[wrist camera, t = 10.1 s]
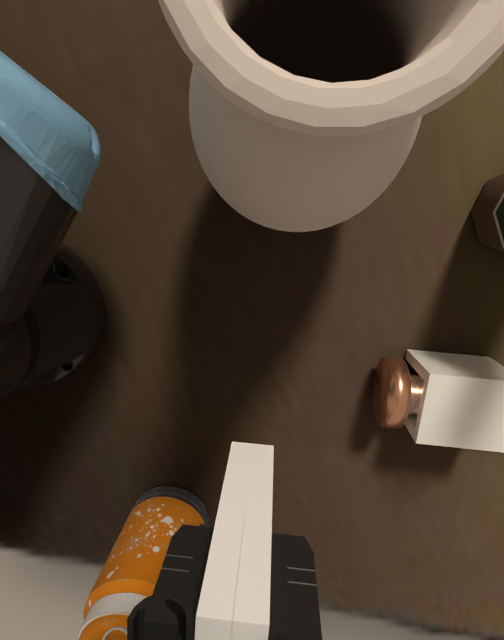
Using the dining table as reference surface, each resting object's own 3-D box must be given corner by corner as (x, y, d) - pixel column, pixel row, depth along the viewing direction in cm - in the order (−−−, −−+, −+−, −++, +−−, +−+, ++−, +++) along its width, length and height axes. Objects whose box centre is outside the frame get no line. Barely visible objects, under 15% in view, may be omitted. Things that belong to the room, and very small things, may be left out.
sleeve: (395, 409, 42) (415, 443, 36) (406, 349, 40) (430, 373, 34) (474, 417, 42) (508, 452, 36) (489, 356, 40) (527, 383, 34)
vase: (255, 251, 39) (187, 360, 10) (191, 107, 36) (-164, -324, 7) (394, 187, 37) (829, 90, 8) (338, 30, 34) (688, -1058, 5)
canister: (122, 492, 47) (12, 687, 27) (213, 470, 45) (163, 661, 26) (150, 554, 49) (65, 778, 29) (237, 535, 47) (209, 757, 28)
